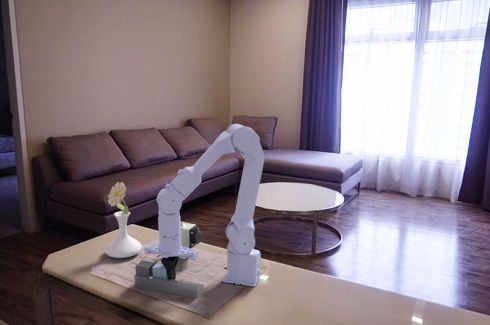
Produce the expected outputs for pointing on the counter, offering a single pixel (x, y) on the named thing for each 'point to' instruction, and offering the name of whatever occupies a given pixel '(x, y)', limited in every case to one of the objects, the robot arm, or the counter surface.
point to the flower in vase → (121, 227)
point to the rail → (163, 282)
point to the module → (159, 271)
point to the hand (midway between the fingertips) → (171, 280)
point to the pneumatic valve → (190, 235)
